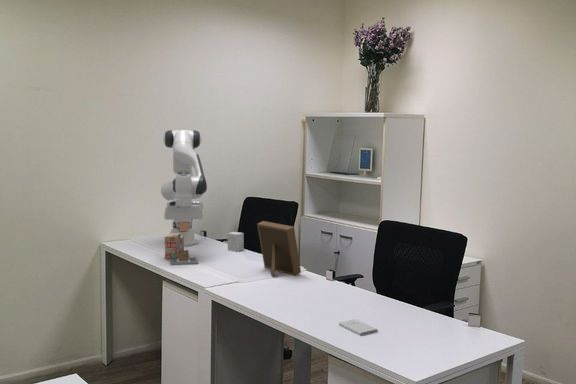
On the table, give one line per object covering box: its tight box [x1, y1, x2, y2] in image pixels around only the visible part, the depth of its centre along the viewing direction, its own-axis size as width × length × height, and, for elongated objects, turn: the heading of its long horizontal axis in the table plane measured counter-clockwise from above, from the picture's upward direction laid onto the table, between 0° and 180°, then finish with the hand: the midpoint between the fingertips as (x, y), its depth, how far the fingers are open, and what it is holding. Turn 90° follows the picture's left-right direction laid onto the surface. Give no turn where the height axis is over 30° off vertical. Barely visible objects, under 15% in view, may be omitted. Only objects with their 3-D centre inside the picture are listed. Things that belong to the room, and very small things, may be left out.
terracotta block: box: [179, 221, 188, 231], centre depth 299 cm, size 4×4×4 cm
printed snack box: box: [164, 232, 185, 259], centre depth 315 cm, size 21×6×12 cm, turn 179°
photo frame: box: [256, 220, 302, 278], centre depth 280 cm, size 15×22×25 cm
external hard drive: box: [338, 318, 379, 337], centre depth 204 cm, size 2×8×12 cm
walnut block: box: [178, 249, 190, 262], centre depth 300 cm, size 5×5×5 cm
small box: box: [227, 231, 245, 252], centre depth 331 cm, size 8×6×10 cm
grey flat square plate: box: [169, 256, 199, 266], centre depth 301 cm, size 14×14×1 cm
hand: (183, 227), depth 299 cm, fingers closed on terracotta block, 4 cm apart
